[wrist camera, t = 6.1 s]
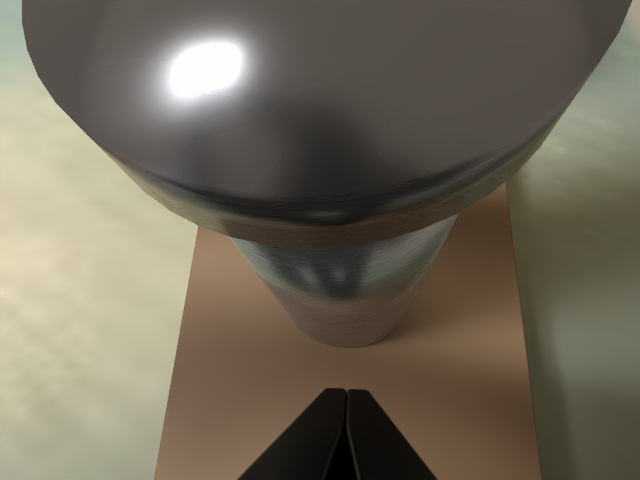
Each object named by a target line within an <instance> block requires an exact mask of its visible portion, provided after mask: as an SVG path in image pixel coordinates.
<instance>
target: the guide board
mask: <svg viewBox="0 0 640 480" xmlns="http://www.w3.org/2000/svg"><path fill="white" fill-rule="evenodd" d="M326 388H343V389H345V390H346V392H347V391H348V390H349V389H364V390H368V391H369V392H370V393H371V394H372V396H373V397H374V398H375V399H376V401H377V402H378V403H379V405H380V406H381V407H382V408H383V410H384V411H385V412H386V414H387V415H388V416H389V417H390V419H391V420H392V421H393V423H394V424H395V425H396V426H397V428H398V429H399V430H400V432H401V433H402V434H403V435H404V437H405V438H406V439H407V440H408V442H409V443H410V444H411V446H412V447H413V448H414V449H415V451H416V452H417V453H418V455H419V456H420V457H421V458H422V460H423V461H424V462H425V464H426V465H427V466H428V467H429V469H430V470H431V471H432V473H433V474H434V475H435V476H436V478H437V479H438V480H542V479H541V471H540V463H539V455H538V446H537V438H536V430H535V422H534V414H533V405H532V397H531V389H530V381H529V373H528V364H527V356H526V348H525V340H524V331H523V323H522V315H521V307H520V299H519V290H518V282H517V274H516V266H515V257H514V249H513V241H512V233H511V225H510V216H509V208H508V200H507V192H506V183H505V182H504V183H503V184H502V185H501V186H499V187H498V188H497V189H496V190H494V191H493V192H492V193H491V194H489V195H488V196H486V197H485V198H483V199H481V200H480V201H478V202H476V203H475V204H473V205H471V206H470V207H468V208H466V209H465V210H463V211H461V212H460V213H459V214H458V216H457V218H456V220H455V222H454V224H453V226H452V228H451V230H450V231H449V233H448V235H447V237H446V239H445V241H444V243H443V245H442V247H441V249H440V251H439V253H438V255H437V257H436V259H435V260H434V262H433V264H432V266H431V268H430V270H429V272H428V274H427V276H426V278H425V280H424V282H423V284H422V286H421V288H420V289H419V291H418V293H417V295H416V297H415V299H414V301H413V303H412V305H411V307H410V309H409V311H408V313H407V315H406V316H405V318H404V319H403V321H402V322H401V323H400V324H399V326H398V327H397V328H396V329H395V330H394V331H393V332H391V333H390V334H389V335H388V336H386V337H384V338H383V339H381V340H379V341H377V342H375V343H373V344H370V345H367V346H363V347H357V348H339V347H333V346H329V345H326V344H323V343H321V342H318V341H317V340H315V339H313V338H311V337H310V336H308V335H307V334H306V333H304V332H303V331H302V330H301V329H300V328H299V327H298V326H297V325H296V323H295V322H294V321H293V320H292V318H291V317H290V316H289V314H288V313H287V312H286V311H285V309H284V308H283V307H282V305H281V304H280V303H279V302H278V300H277V299H276V298H275V296H274V295H273V294H272V293H271V291H270V290H269V289H268V287H267V286H266V285H265V284H264V282H263V281H262V280H261V278H260V277H259V276H258V275H257V273H256V272H255V271H254V269H253V268H252V267H251V266H250V264H249V263H248V262H247V260H246V259H245V258H244V257H243V255H242V254H241V253H240V251H239V250H238V249H237V248H236V246H235V245H234V244H233V242H232V241H231V240H230V239H229V237H228V236H226V235H223V234H221V233H218V232H215V231H212V230H210V229H207V228H204V227H201V226H198V231H197V237H196V243H195V248H194V254H193V260H192V265H191V271H190V277H189V283H188V288H187V294H186V300H185V305H184V311H183V317H182V323H181V328H180V334H179V340H178V345H177V351H176V357H175V363H174V368H173V374H172V380H171V385H170V391H169V397H168V403H167V408H166V414H165V420H164V425H163V431H162V437H161V443H160V448H159V454H158V460H157V465H156V471H155V477H154V480H237V479H238V478H239V477H240V476H241V475H242V474H243V473H244V471H245V470H246V469H247V468H248V467H249V466H250V465H251V464H252V463H253V462H254V461H255V460H256V459H257V458H258V457H259V456H260V455H261V454H262V453H263V452H264V451H265V450H266V449H267V448H268V447H269V446H270V445H271V444H272V443H273V442H274V441H275V440H276V439H277V438H278V436H279V435H280V434H281V433H282V432H283V431H284V430H285V429H286V428H287V427H288V426H289V425H290V424H291V423H292V422H293V421H294V420H295V419H296V418H297V417H298V416H299V415H300V414H301V413H302V412H303V411H304V410H305V409H306V408H307V407H308V406H309V405H310V404H311V403H312V401H313V400H314V399H315V398H316V397H317V396H318V395H319V394H320V393H321V392H322V391H323V390H324V389H326Z"/></svg>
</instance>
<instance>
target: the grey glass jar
mask: <svg viewBox="0 0 640 480" xmlns="http://www.w3.org/2000/svg"><path fill="white" fill-rule="evenodd" d="M631 2H632V0H22V25H23V30H24V35H25V40H26V45H27V50H28V52H29V55H30V57H31V60H32V62H33V65H34V67H35V69H36V72H37V74H38V77H39V78H40V80H41V81H42V83H43V84H44V86H45V87H46V89H47V90H48V92H49V93H50V95H51V96H52V98H53V99H54V101H55V102H56V103H57V104H58V105H59V106H60V107H61V108H62V110H63V111H64V112H65V113H66V114H67V115H68V116H69V117H70V118H71V119H72V120H73V121H74V122H75V123H76V124H77V125H78V126H79V127H80V128H81V129H82V130H83V131H84V132H85V133H86V134H87V135H88V136H89V137H90V138H91V139H92V140H93V141H94V142H95V143H96V144H97V145H98V146H99V147H100V148H101V149H102V150H103V151H104V152H105V153H106V154H107V155H108V156H109V157H110V158H111V159H112V160H113V161H114V162H115V163H116V164H117V165H118V166H119V167H120V168H121V169H122V170H123V171H124V172H125V173H126V174H127V175H128V176H129V177H130V178H131V179H132V180H133V181H134V182H135V183H136V184H137V185H138V186H139V187H140V188H141V189H142V190H143V191H144V192H146V193H147V194H148V195H150V196H151V197H152V198H154V199H155V200H156V201H158V202H159V203H160V204H162V205H163V206H165V207H166V208H167V209H169V210H170V211H172V212H174V213H176V214H178V215H180V216H181V217H183V218H185V219H187V220H189V221H191V222H193V223H195V224H197V225H199V226H201V227H204V228H207V229H210V230H212V231H215V232H218V233H221V234H223V235H226V236H228V237H229V239H230V240H231V241H232V242H233V244H234V245H235V246H236V248H237V249H238V250H239V251H240V253H241V254H242V255H243V257H244V258H245V259H246V260H247V262H248V263H249V264H250V266H251V267H252V268H253V269H254V271H255V272H256V273H257V275H258V276H259V277H260V278H261V280H262V281H263V282H264V284H265V285H266V286H267V287H268V289H269V290H270V291H271V293H272V294H273V295H274V296H275V298H276V299H277V300H278V302H279V303H280V304H281V305H282V307H283V308H284V309H285V311H286V312H287V313H288V314H289V316H290V317H291V318H292V320H293V321H294V322H295V323H296V325H297V326H298V327H299V328H300V329H301V330H302V331H303V332H304V333H306V334H307V335H308V336H310V337H311V338H313V339H315V340H317V341H318V342H321V343H323V344H326V345H329V346H333V347H339V348H357V347H363V346H367V345H370V344H373V343H375V342H377V341H379V340H381V339H383V338H384V337H386V336H388V335H389V334H390V333H391V332H393V331H394V330H395V329H396V328H397V327H398V326H399V324H400V323H401V322H402V321H403V319H404V318H405V316H406V315H407V313H408V311H409V309H410V307H411V305H412V303H413V301H414V299H415V297H416V295H417V293H418V291H419V289H420V288H421V286H422V284H423V282H424V280H425V278H426V276H427V274H428V272H429V270H430V268H431V266H432V264H433V262H434V260H435V259H436V257H437V255H438V253H439V251H440V249H441V247H442V245H443V243H444V241H445V239H446V237H447V235H448V233H449V231H450V230H451V228H452V226H453V224H454V222H455V220H456V218H457V216H458V214H459V213H460V212H461V211H463V210H465V209H466V208H468V207H470V206H471V205H473V204H475V203H476V202H478V201H480V200H481V199H483V198H485V197H486V196H488V195H489V194H491V193H492V192H493V191H494V190H496V189H497V188H498V187H499V186H501V185H502V184H503V183H504V182H506V181H507V180H508V179H509V178H510V177H512V176H513V175H514V174H515V173H517V172H518V171H519V169H520V168H521V167H522V166H523V165H524V164H525V163H526V162H527V161H528V160H529V159H530V157H531V156H532V155H533V154H534V153H535V152H536V151H537V150H538V149H539V148H540V146H541V145H542V143H543V142H544V140H545V139H546V138H547V136H548V135H549V133H550V132H551V130H552V129H553V128H554V126H555V125H556V123H557V122H558V120H559V119H560V118H561V116H562V115H563V113H564V112H565V110H566V109H567V108H568V106H569V105H570V103H571V102H572V100H573V99H574V97H575V96H576V95H577V93H578V92H579V90H580V89H581V87H582V86H583V85H584V83H585V82H586V80H587V79H588V77H589V76H590V75H591V73H592V72H593V70H594V69H595V67H596V66H597V65H598V63H599V62H600V60H601V58H602V57H603V55H604V54H605V52H606V51H607V49H608V48H609V46H610V45H611V43H612V42H613V40H614V39H615V37H616V36H617V34H618V33H619V31H620V28H621V26H622V24H623V21H624V19H625V16H626V14H627V12H628V9H629V7H630V4H631Z"/></svg>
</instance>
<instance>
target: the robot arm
mask: <svg viewBox="0 0 640 480" xmlns="http://www.w3.org/2000/svg"><path fill="white" fill-rule="evenodd" d="M237 480H438V479H437V478H436V476H435V475H434V474H433V473H432V471H431V470H430V469H429V467H428V466H427V465H426V464H425V462H424V461H423V460H422V458H421V457H420V456H419V455H418V453H417V452H416V451H415V449H414V448H413V447H412V446H411V444H410V443H409V442H408V440H407V439H406V438H405V437H404V435H403V434H402V433H401V432H400V430H399V429H398V428H397V426H396V425H395V424H394V423H393V421H392V420H391V419H390V417H389V416H388V415H387V414H386V412H385V411H384V410H383V408H382V407H381V406H380V405H379V403H378V402H377V401H376V399H375V398H374V397H373V396H372V394H371V393H370V392H369V391H368V390H364V389H349V390H348V391H347V392H346V390H345V389H343V388H326V389H324V390H323V391H322V392H321V393H320V394H319V395H318V396H317V397H316V398H315V399H314V400H313V401H312V403H311V404H310V405H309V406H308V407H307V408H306V409H305V410H304V411H303V412H302V413H301V414H300V415H299V416H298V417H297V418H296V419H295V420H294V421H293V422H292V423H291V424H290V425H289V426H288V427H287V428H286V429H285V430H284V431H283V432H282V433H281V434H280V435H279V436H278V438H277V439H276V440H275V441H274V442H273V443H272V444H271V445H270V446H269V447H268V448H267V449H266V450H265V451H264V452H263V453H262V454H261V455H260V456H259V457H258V458H257V459H256V460H255V461H254V462H253V463H252V464H251V465H250V466H249V467H248V468H247V469H246V470H245V471H244V473H243V474H242V475H241V476H240V477H239V478H238V479H237Z"/></svg>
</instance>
